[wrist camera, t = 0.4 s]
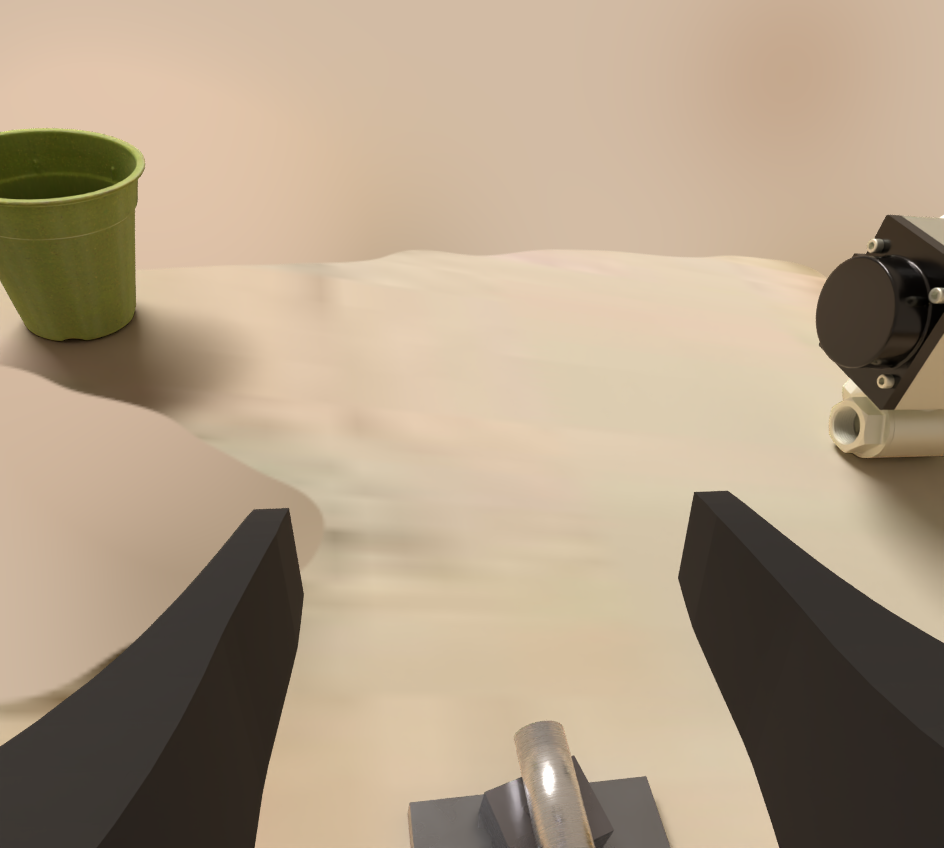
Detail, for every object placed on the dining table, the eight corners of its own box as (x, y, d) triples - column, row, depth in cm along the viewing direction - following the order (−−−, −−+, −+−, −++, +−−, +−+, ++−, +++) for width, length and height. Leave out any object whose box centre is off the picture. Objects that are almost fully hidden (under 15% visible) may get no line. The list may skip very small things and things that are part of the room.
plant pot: (45, 265, 56) (5, 115, 49) (194, 291, 56) (176, 146, 49) (-59, 346, 47) (-126, 177, 40) (119, 378, 47) (83, 215, 40)
